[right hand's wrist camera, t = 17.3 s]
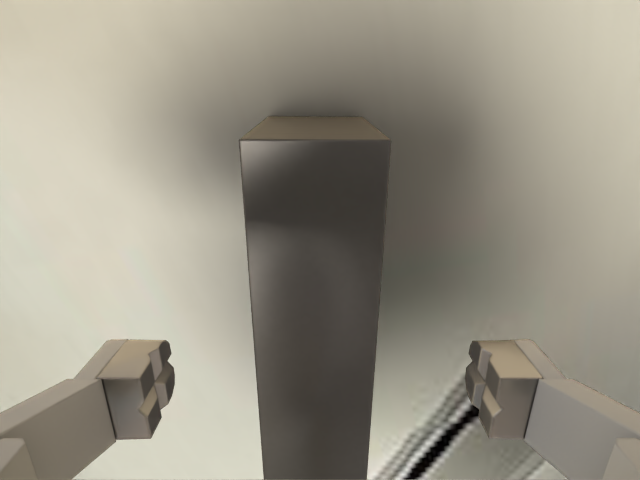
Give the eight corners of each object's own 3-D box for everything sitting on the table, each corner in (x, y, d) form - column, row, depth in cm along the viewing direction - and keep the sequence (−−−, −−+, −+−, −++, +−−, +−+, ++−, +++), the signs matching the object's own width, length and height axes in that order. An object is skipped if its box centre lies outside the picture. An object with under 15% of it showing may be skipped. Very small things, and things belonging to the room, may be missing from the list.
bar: (267, 116, 23) (238, 138, 14) (362, 116, 23) (391, 139, 14) (281, 431, 33) (269, 559, 24) (349, 430, 33) (361, 559, 24)
